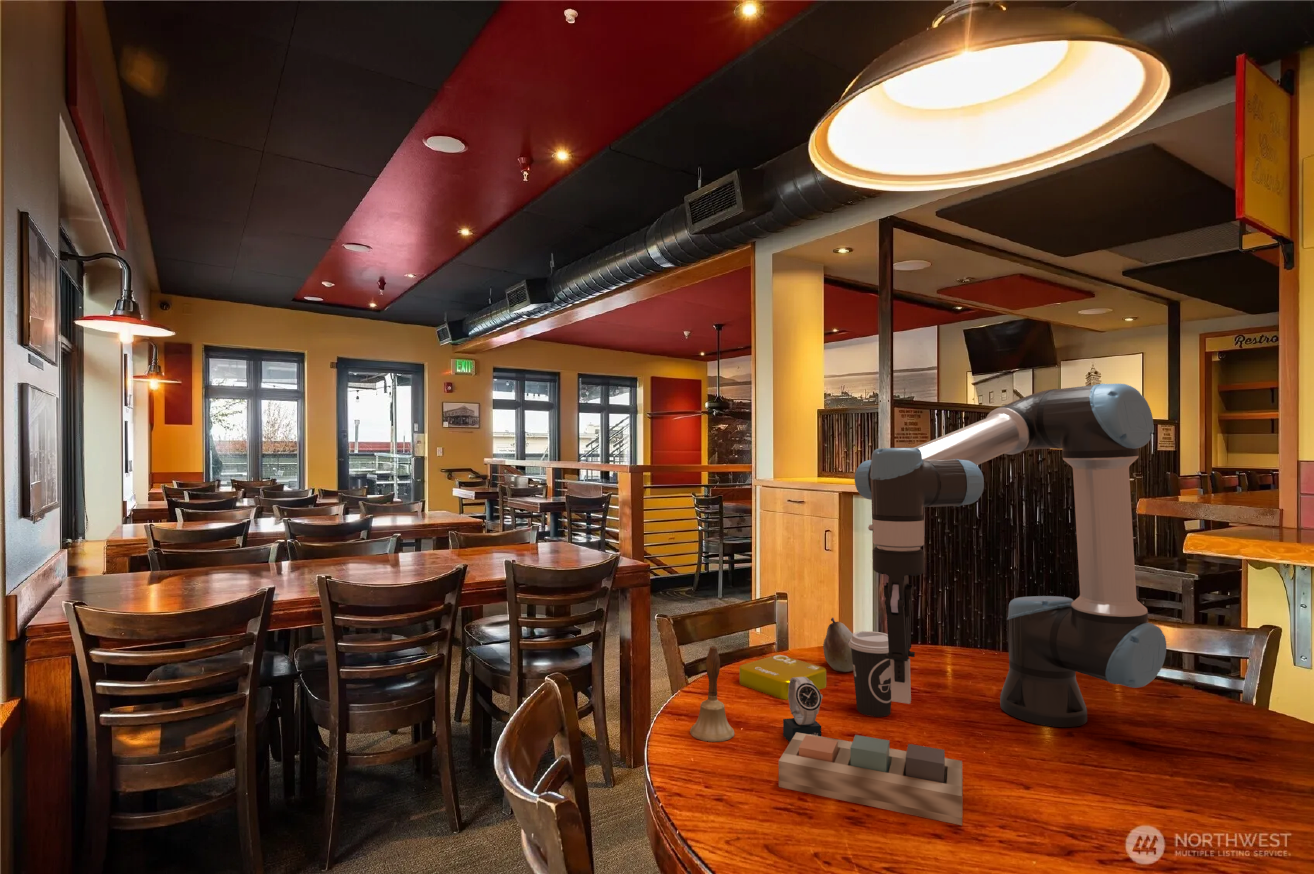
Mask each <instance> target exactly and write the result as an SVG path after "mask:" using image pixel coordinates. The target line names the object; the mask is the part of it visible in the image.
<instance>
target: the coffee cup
mask: <svg viewBox="0 0 1314 874" xmlns="http://www.w3.org/2000/svg"><path fill="white" fill-rule="evenodd" d="M849 647H851V652H852V662H853V671H852V672H853V679H854V681H853V682H854V683H853V684H854V691H855V702H856V711H858V713H860V714H862V715H865V716H868V717H874V718H875V717H876V718H883V717H888V716H889V715H890V714H891V712H892V711H891V710H892V701H891V662H890V659H886V658H885V656H886V654H888V652H889V648H888V633H885V632H879V631H867V630H866V631H865V630H864V631H863V630H862V631H857V632H853V635H852V638H851V639H850V641H849Z"/></svg>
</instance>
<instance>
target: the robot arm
mask: <svg viewBox="0 0 1314 874" xmlns="http://www.w3.org/2000/svg"><path fill="white" fill-rule="evenodd" d="M1153 431H1154V418H1153V414H1152V410H1151V408H1150V405H1149V403H1148V401H1147V400H1146V398H1145V396H1144V395H1142V394H1141V392H1140V391H1139V390H1138V389H1136V387H1133V386H1131V385H1128V384H1126V383H1103V382H1102V383H1099V384H1092V385H1090V384H1089V385H1083V386H1073V387H1066V388H1053V389H1046V390H1041V391H1039V392H1034V393H1031V394H1029V395H1026V396H1024V397H1021V398H1019V399H1016V400H1014V401H1012V402H1010V403H1007V404H1004V405H1002V406H999V407H997V408H995V409H993V410H991V411H990V412H989V413H988V414H987V416H986V417H985V418H983V419H981V420H979V421H976V422H974V423H972V424H969V425H967V426H964V427H961V428H959V429H957V430H955V431H954V430H953V431H951V432H949V433H947V434H944V435H942V436H939V437H937V438H934V439H932V440H930V441H926V442H925V443H922V444H919V445H917V446H915V447H887V448H886V447H885V448H884V447H883V448H882V447H881V448H876V449H874V450H873V452H872V453H871V459H867V460H864V461H863V462H861V463H860V464H859V465H858V467H857V468H856V471H855V473H854V485H855V486H854V487H855V489H856V490H857V492H858V493H859V495H860V496H861V497H862V498H864V499H866V500H870V501H871V519H872V524H868V527H867V528H868V531H871V532H872V544H873V545H875V547H874V548H873V549H872V570H873V571H874V572H876V573H877V574H881V575H886V576H887V577H888V580H887V582H885V585H884V586H883V596H884V598H885V600H884V605H885V613H886V626H887V627H886V628H887V634H888V648H889V652H888V654H886V656H885V658H886V659H890V662H891V702H895V703H902V704H908V705H911V703H912V702H911V701H912V695H911V694H912V693H911V692H912V691H911V690H912V689H911V686H912V684H911V658H915V656H916V655H915V654H916V652H915V651H911V649H912V643H911V642H912V641H911V640H912V638H911V635H912V634H911V633H912V631H911V628H912V626H911V625H912V624H911V621H912V619H911V617H912V615H911V614H912V610H913V595H914V584H913V583H910V582H909V576H910V577H915V576H920V575H922V574H923V573H925V551H923V549H922V548H921V547H923V546H925V523H924V522H925V520H924V508H928V507H930V508H931V507H933V508H934V507H936V508H937V507H957V508H959V507H961V506H966V505H972V504H974V503H975V502H977V501H978V500H979V499H980V498H981V496H982V494H983V492H984V489H985V482H984V481H985V479H984V475H983V472H982V470H981V468H979V466H978V465H981V464H983V463H986V462H987V461H990V460H992V459H995V458H996V457H997V458H998V457H999V456H1001V455H1003V454H1004V455H1016V454H1019V453H1021V452H1024V451H1028V450H1041V449H1042V450H1044V449H1046V450H1047V449H1051V450H1052V449H1055V450H1057V449H1058V450H1059V449H1060V450H1062V451H1061V452H1062V460H1063V461H1064V462H1066V464H1068V465H1069V466H1070V467H1071V468H1072V477H1073V493H1074V496H1073V497H1074V507H1075V508H1074V510H1075V527H1076V528H1075V529H1076V543H1077V544H1076V545H1077V560H1078V561H1077V562H1078V563H1077V565H1078V581H1079V583H1078V584H1079V596H1078V597H1077V598H1076V599H1073V598H1071V597H1067V596H1057V595H1055V596H1054V595H1047V596H1046V595H1042V596H1041V595H1038V596H1037V595H1036V596H1020V597H1015V598H1013V599H1011V600H1010V602H1009V604H1008V614H1007V616H1008V617H1007V618H1006V620H1007V633H1008V639H1007V641H1008V662H1009V663H1008V672H1007V675H1006V678H1005V680H1004V683H1003V687H1002V690H1001V692H1000V695H999V698H1000V700H999V704H1000V705H999V706H1000V709H1001V710H1002V711H1003V712H1005V713H1006V714H1008V715H1009V716H1011V717H1014V718H1016V719H1019V720H1021V721H1025V722H1028V723H1031V724H1036V725H1040V726H1041V725H1042V726H1047V727H1057V728H1075V727H1080V726H1083V725H1085V724H1087V722H1088V708H1087V706H1086V703H1085V700H1084V697H1083V695H1082V692H1081V689H1080V687H1079V684H1078V681H1077V676H1076V672H1077V673H1079V674H1082V675H1085V676H1090V677H1093V678H1096V679H1099V680H1103V681H1106V682H1108V683H1110V684H1111V685H1121V686H1124V687H1128V688H1133V689H1135V688H1136V689H1137V688H1143V687H1145V686H1147V685H1149V684H1150V683H1151V682H1153V680H1155V678H1157V676H1158V674H1159V672H1161V670H1162V668H1163V666H1164V663H1165V660H1166V655H1167V640H1166V635H1165V634H1164V633H1163V631H1162V629H1161V627H1159V626H1157V625H1155V624H1154V623H1151V622H1149V612H1148V608H1147V607H1146V606H1144V605H1143V604H1142V603H1141V602H1140V601H1138V599H1137V584H1136V582H1137V581H1136V570H1135V569H1136V566H1135V551H1134V550H1135V548H1134V531H1133V517H1132V516H1133V514H1132V501H1131V500H1132V499H1131V498H1132V497H1131V496H1132V495H1131V484H1130V479H1131V478H1130V466H1131V465H1132V464H1133V463H1134V462H1136V461H1137V460H1138V458H1139V449H1140V448H1143V447H1145V446H1146V445H1147V444H1148V443H1149V442H1150V440H1151V438H1152V434H1153Z"/></svg>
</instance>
